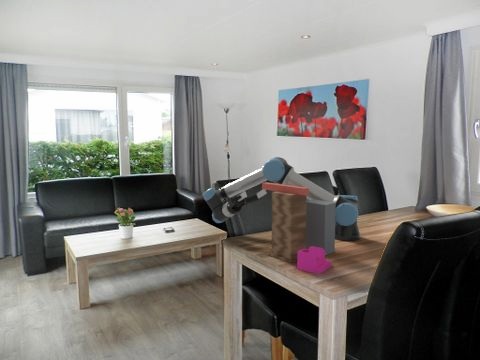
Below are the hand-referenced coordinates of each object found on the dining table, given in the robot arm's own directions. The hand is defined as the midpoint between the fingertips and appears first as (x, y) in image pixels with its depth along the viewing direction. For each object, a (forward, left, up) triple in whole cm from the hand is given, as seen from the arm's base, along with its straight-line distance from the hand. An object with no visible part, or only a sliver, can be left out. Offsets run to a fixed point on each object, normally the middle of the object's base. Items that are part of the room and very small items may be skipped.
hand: (255, 192), depth 196 cm
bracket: (-33, +23, -28) cm, 49 cm away
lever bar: (-17, +10, +3) cm, 20 cm away
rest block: (-32, -1, -27) cm, 42 cm away
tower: (-19, +12, -27) cm, 35 cm away
